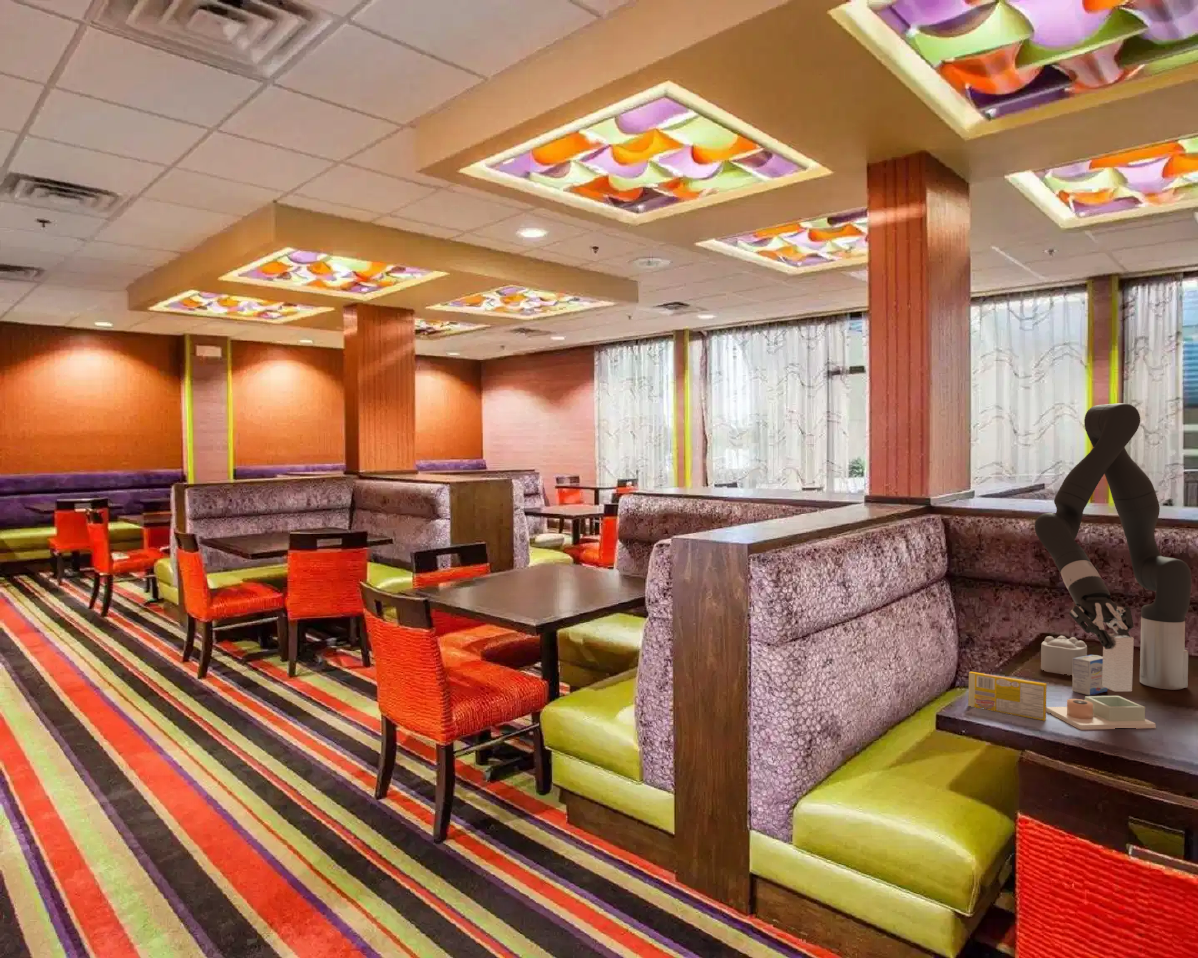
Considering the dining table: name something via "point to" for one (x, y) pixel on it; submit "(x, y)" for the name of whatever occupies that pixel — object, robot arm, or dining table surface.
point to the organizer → (1102, 713)
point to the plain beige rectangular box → (1118, 663)
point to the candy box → (1007, 695)
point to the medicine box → (1088, 675)
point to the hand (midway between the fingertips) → (1119, 646)
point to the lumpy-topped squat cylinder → (1061, 654)
